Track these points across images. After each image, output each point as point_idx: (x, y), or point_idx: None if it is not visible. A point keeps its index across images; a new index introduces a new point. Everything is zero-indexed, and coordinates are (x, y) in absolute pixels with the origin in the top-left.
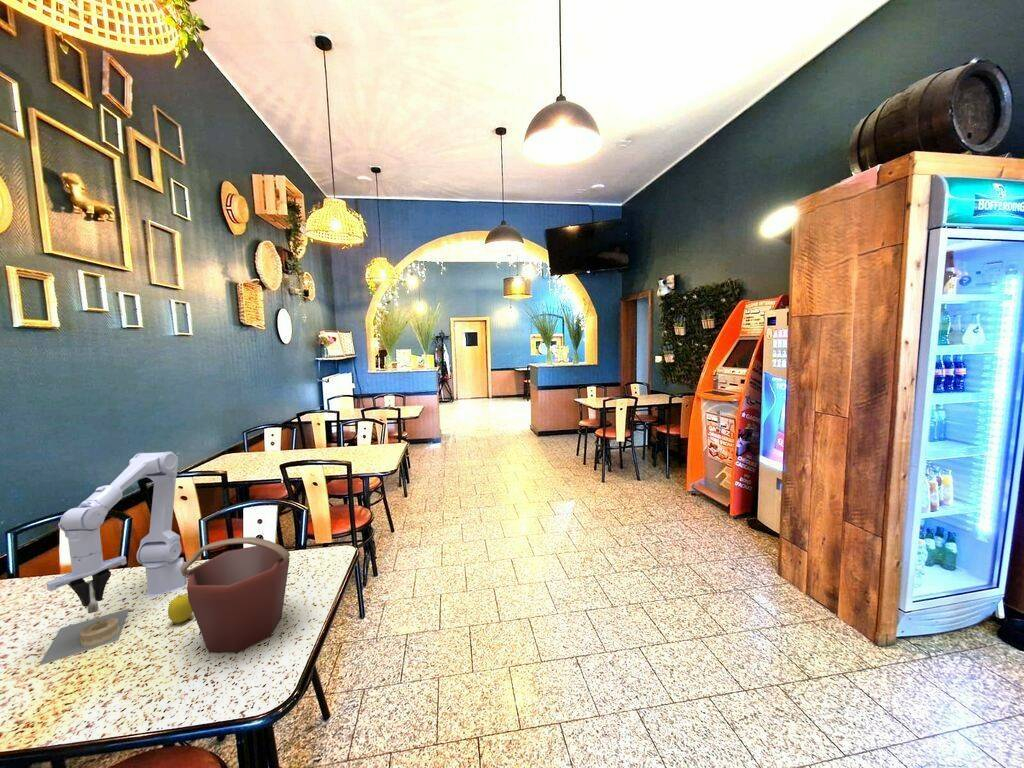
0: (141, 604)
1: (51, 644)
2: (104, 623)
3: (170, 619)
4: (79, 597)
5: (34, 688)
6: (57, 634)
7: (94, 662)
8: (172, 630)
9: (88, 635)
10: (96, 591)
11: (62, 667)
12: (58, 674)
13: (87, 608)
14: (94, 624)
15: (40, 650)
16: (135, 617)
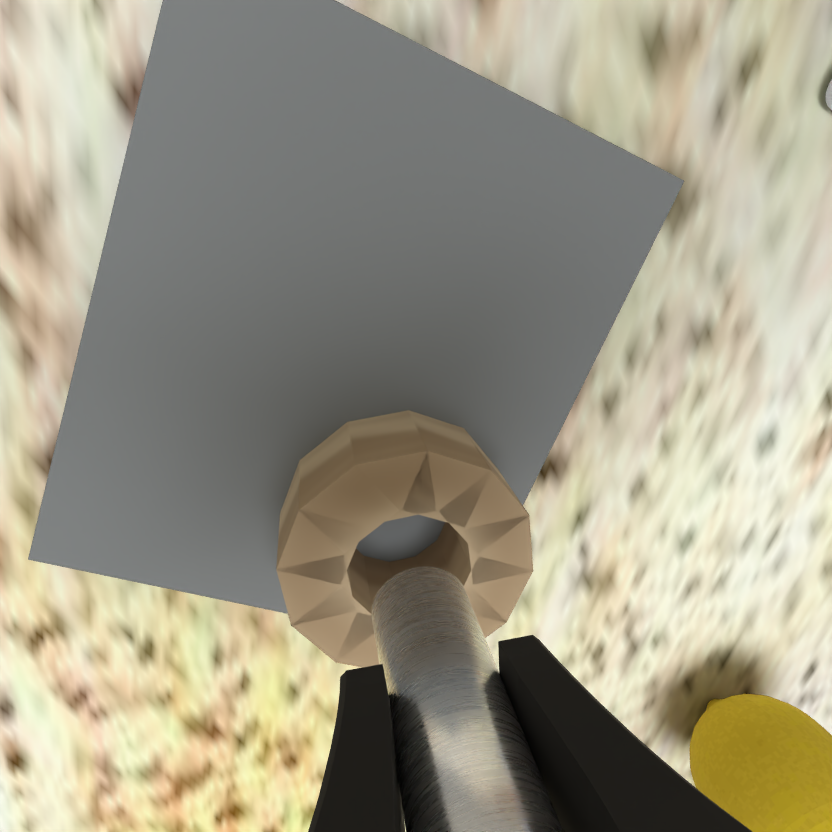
0: (761, 159)
1: (102, 274)
2: (450, 522)
3: (692, 765)
4: (328, 796)
5: (29, 760)
6: (150, 80)
7: (305, 743)
8: (648, 738)
9: (320, 648)
10: (560, 796)
11: (163, 660)
12: (141, 718)
13: (379, 658)
14: (393, 496)
15: (28, 244)
16: (632, 377)
